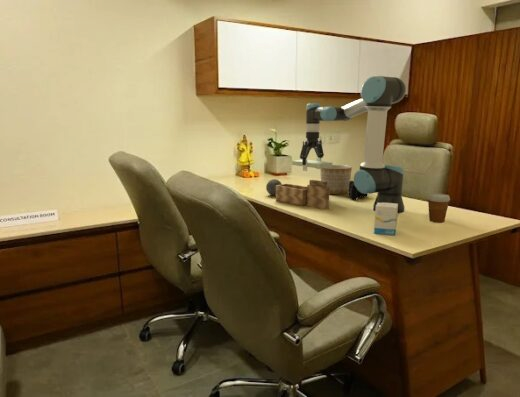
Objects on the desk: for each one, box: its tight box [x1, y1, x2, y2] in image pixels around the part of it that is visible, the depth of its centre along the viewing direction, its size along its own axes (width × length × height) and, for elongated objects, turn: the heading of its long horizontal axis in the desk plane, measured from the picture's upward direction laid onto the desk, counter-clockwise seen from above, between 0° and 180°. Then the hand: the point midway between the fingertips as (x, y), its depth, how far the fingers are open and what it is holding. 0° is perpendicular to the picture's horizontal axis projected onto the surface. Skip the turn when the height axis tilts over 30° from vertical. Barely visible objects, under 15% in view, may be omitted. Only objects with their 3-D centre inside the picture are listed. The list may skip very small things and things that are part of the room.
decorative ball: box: [265, 179, 283, 197], centre depth 241 cm, size 10×10×10 cm
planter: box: [319, 164, 353, 196], centre depth 248 cm, size 19×19×16 cm
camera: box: [348, 180, 368, 201], centre depth 231 cm, size 14×11×10 cm
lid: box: [291, 159, 333, 169], centre depth 228 cm, size 21×11×2 cm, turn 42°
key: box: [308, 179, 327, 187], centre depth 207 cm, size 10×2×2 cm, turn 42°
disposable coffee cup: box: [426, 193, 451, 224], centre depth 179 cm, size 10×10×12 cm
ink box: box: [373, 202, 398, 236], centre depth 163 cm, size 9×8×12 cm
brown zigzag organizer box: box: [275, 183, 330, 210], centre depth 216 cm, size 34×9×12 cm, turn 42°
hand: (311, 169), depth 228 cm, fingers closed on lid, 11 cm apart
